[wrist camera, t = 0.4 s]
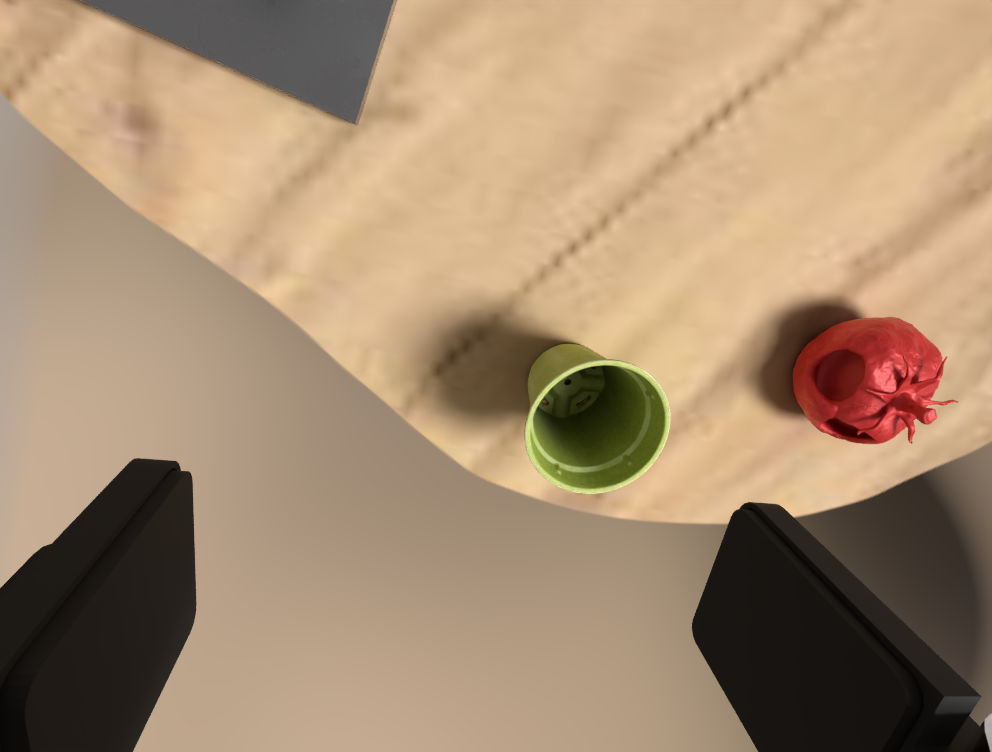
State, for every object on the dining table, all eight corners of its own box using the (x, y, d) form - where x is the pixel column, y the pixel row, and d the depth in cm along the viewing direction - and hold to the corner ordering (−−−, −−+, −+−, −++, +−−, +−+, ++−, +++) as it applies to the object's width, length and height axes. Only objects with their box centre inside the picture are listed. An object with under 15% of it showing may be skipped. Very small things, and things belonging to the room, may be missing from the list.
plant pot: (554, 455, 45) (584, 519, 37) (479, 377, 41) (495, 429, 33) (645, 383, 44) (697, 432, 35) (575, 296, 40) (615, 329, 32)
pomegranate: (884, 290, 44) (1002, 318, 35) (888, 398, 47) (996, 448, 39) (770, 331, 43) (860, 369, 35) (783, 437, 47) (867, 495, 38)
